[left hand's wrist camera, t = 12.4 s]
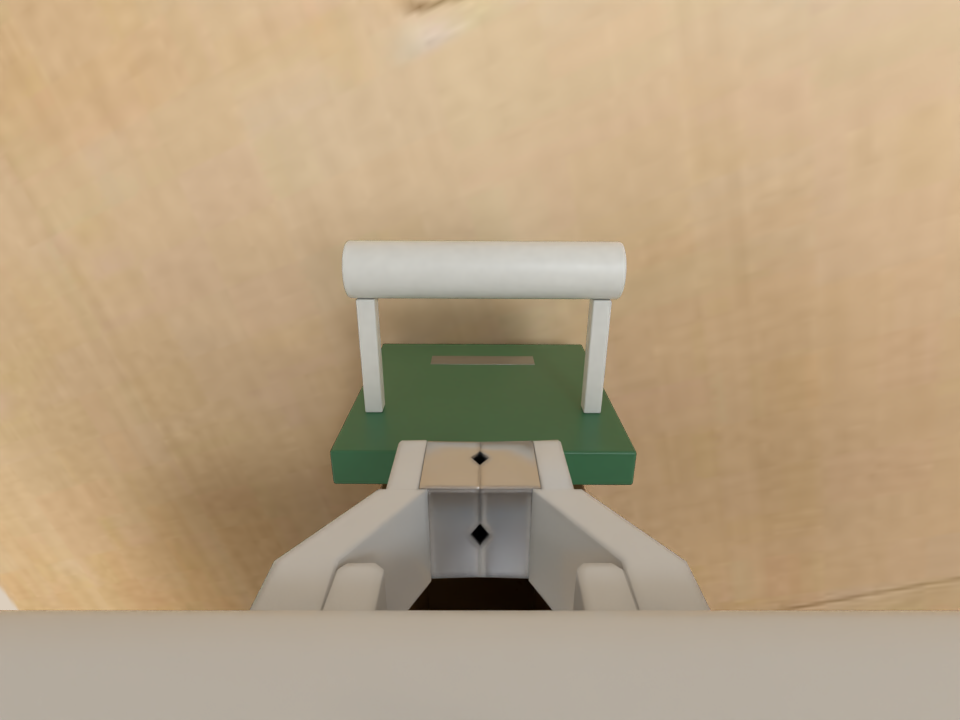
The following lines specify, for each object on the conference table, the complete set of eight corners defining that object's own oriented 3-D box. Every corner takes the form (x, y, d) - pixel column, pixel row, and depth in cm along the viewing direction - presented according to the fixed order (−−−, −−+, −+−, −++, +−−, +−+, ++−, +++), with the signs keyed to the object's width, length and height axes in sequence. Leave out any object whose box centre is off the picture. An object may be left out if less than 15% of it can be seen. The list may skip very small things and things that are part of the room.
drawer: (374, 215, 23) (306, 258, 14) (592, 216, 23) (663, 259, 14) (403, 640, 32) (373, 829, 23) (558, 641, 32) (587, 829, 23)
